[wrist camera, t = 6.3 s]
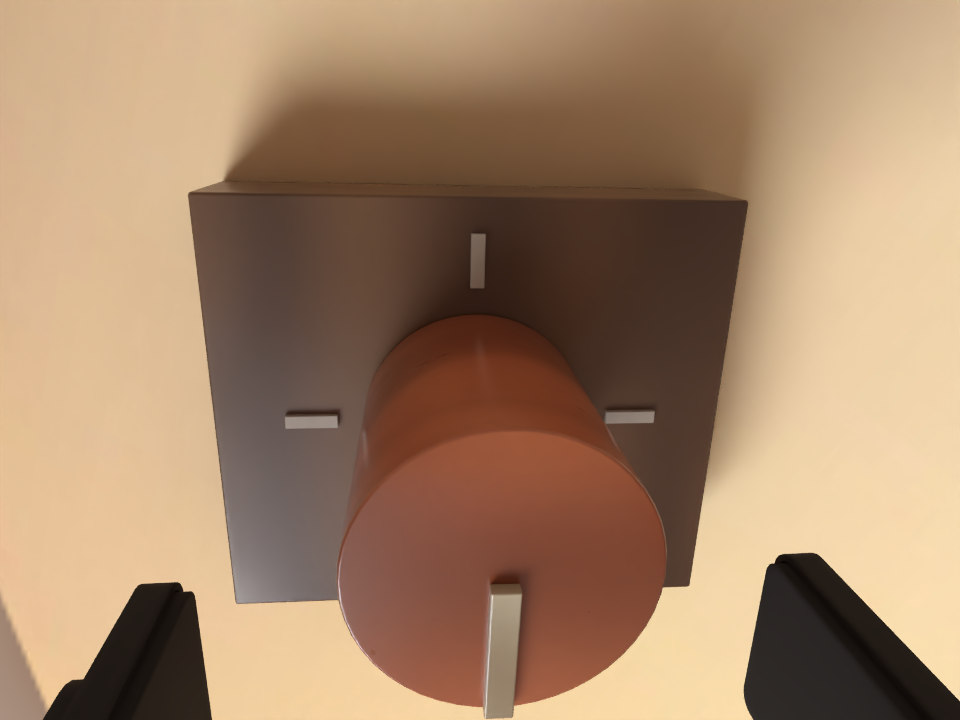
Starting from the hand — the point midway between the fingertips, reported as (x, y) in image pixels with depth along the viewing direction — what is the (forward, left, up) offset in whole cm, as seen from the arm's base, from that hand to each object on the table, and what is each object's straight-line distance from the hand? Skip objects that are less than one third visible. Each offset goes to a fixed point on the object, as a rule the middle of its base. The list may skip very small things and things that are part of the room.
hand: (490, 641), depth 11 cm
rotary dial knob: (0, 0, -8) cm, 8 cm away
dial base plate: (0, 0, -11) cm, 11 cm away
